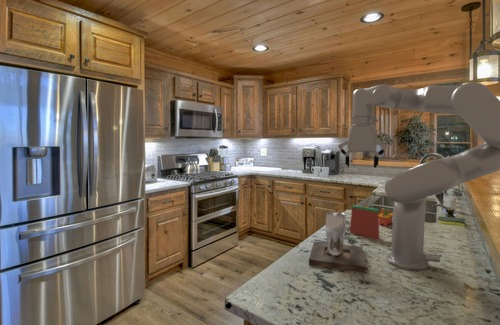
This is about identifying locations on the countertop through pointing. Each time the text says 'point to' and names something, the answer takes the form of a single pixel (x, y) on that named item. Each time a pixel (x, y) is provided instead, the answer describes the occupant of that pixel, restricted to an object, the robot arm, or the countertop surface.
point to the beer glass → (335, 234)
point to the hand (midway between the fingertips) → (361, 166)
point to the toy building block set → (368, 220)
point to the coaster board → (349, 262)
